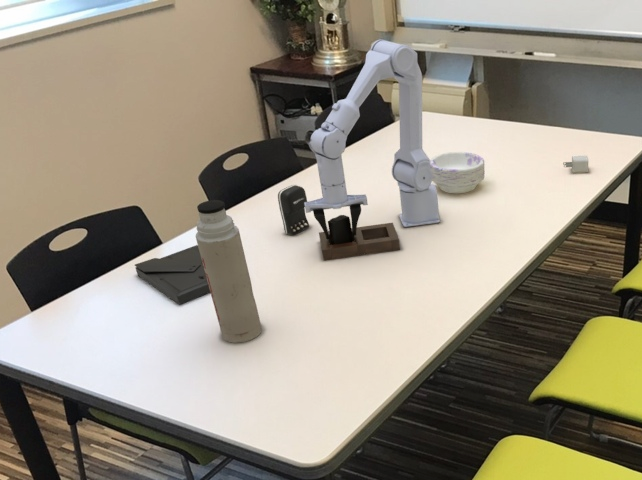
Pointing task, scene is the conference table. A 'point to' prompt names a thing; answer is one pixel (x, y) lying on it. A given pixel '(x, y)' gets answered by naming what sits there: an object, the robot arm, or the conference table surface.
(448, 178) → the paper bowls
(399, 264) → the conference table surface
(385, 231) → the two-well brown tray
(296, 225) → the battery charger
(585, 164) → the usb wall charger
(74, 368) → the conference table surface
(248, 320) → the thermos bottle
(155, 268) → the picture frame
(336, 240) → the ink cartridge
